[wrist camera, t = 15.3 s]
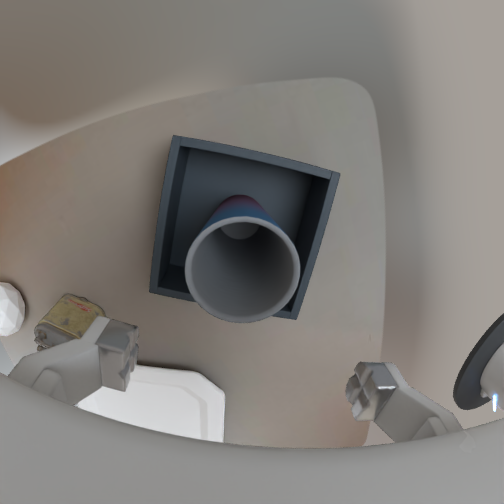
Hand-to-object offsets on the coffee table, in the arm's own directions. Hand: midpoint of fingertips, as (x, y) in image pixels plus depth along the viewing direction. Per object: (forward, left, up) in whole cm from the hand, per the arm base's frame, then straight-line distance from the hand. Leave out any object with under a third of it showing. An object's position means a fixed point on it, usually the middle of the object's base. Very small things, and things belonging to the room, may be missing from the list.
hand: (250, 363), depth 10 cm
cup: (0, 0, -23) cm, 23 cm away
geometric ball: (+31, +18, -24) cm, 43 cm away
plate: (+8, +34, -24) cm, 43 cm away
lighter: (+18, +16, -24) cm, 34 cm away
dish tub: (0, 0, -24) cm, 24 cm away
